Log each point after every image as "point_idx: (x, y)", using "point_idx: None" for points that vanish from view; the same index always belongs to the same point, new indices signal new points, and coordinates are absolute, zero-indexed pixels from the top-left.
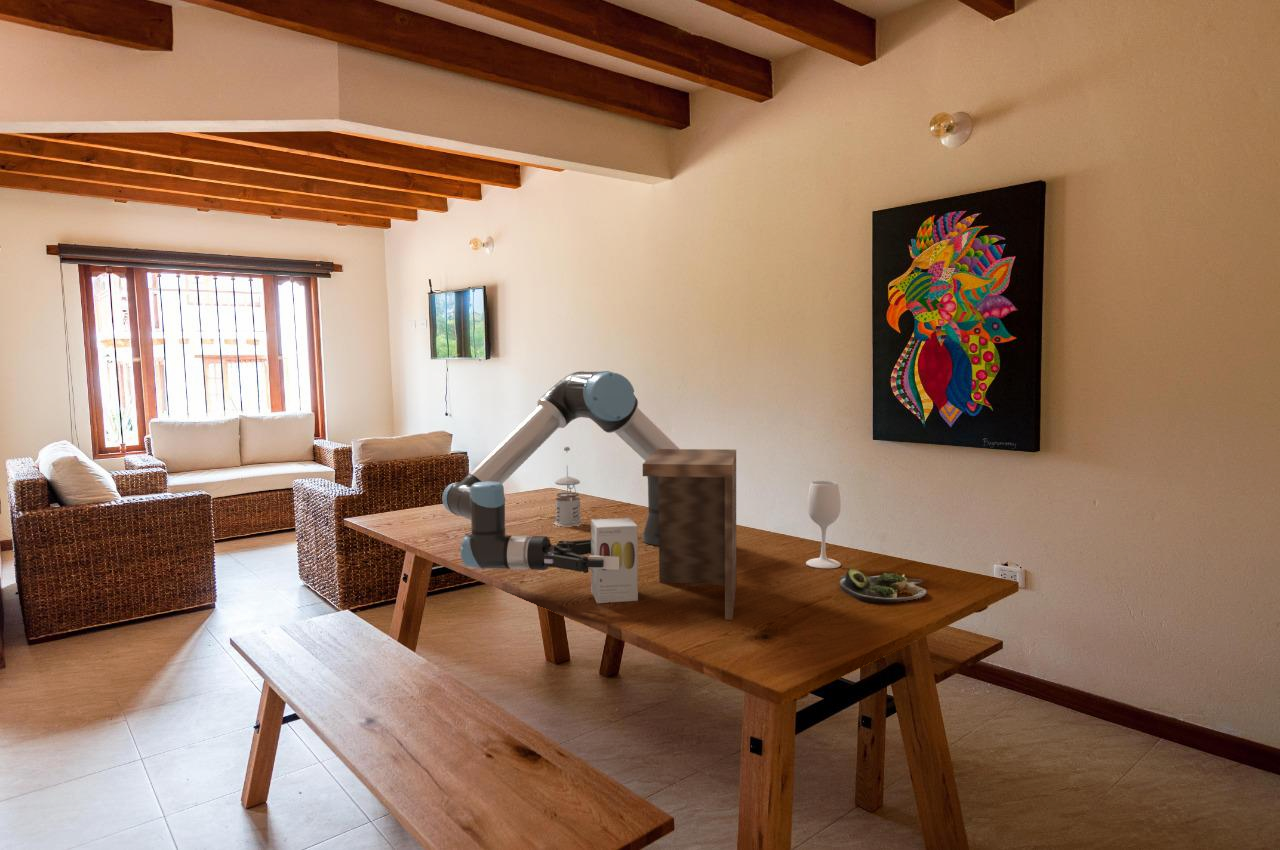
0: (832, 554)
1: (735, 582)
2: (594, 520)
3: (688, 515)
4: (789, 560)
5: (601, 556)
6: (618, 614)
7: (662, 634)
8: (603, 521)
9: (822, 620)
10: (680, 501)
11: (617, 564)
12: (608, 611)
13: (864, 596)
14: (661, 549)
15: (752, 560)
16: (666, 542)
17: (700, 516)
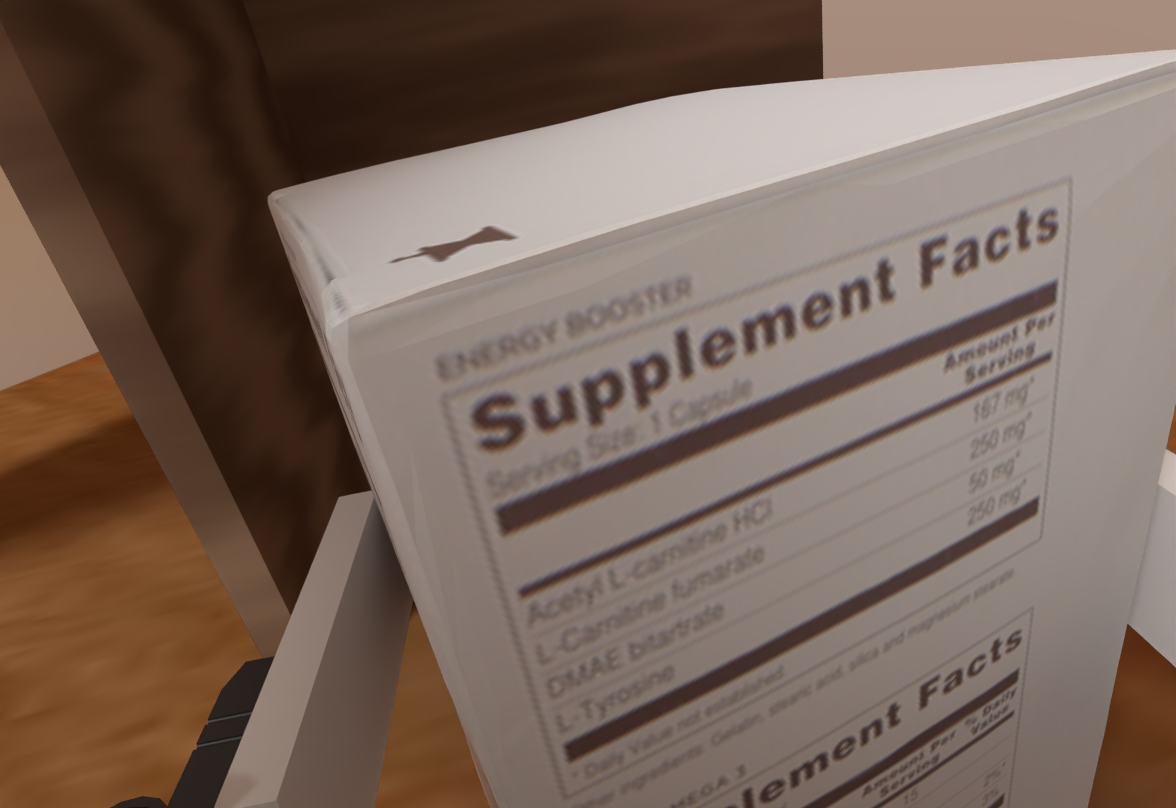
0: (98, 373)
1: None
2: (574, 215)
3: (213, 179)
4: (114, 416)
5: (1172, 461)
6: (1123, 678)
7: (1172, 427)
8: (661, 145)
9: None
10: (140, 72)
11: None
12: (1136, 769)
13: None
14: (242, 490)
15: (52, 482)
16: (233, 424)
17: (244, 173)
